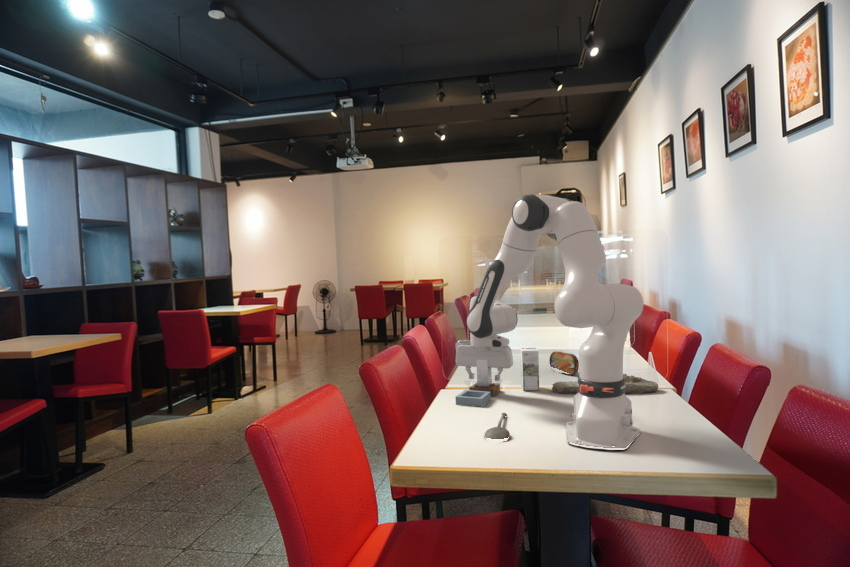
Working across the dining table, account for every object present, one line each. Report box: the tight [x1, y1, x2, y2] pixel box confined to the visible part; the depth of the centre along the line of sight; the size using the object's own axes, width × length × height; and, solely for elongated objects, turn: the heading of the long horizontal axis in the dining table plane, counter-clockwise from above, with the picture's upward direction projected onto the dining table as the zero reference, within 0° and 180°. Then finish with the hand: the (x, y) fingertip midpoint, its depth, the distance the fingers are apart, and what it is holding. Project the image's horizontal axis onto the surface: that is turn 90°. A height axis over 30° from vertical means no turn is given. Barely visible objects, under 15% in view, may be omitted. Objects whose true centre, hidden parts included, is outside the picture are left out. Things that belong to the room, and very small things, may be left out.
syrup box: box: [520, 347, 540, 392], centre depth 184 cm, size 6×6×14 cm
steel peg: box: [476, 359, 493, 388], centre depth 182 cm, size 4×4×12 cm
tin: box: [549, 351, 579, 376], centre depth 207 cm, size 15×3×8 cm, turn 25°
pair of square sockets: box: [455, 381, 501, 407], centre depth 176 cm, size 21×9×2 cm, turn 155°
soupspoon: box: [484, 412, 511, 439], centre depth 144 cm, size 22×3×7 cm
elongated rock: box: [551, 373, 659, 395], centre depth 178 cm, size 35×5×10 cm
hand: (484, 379), depth 182 cm, fingers open, 8 cm apart
